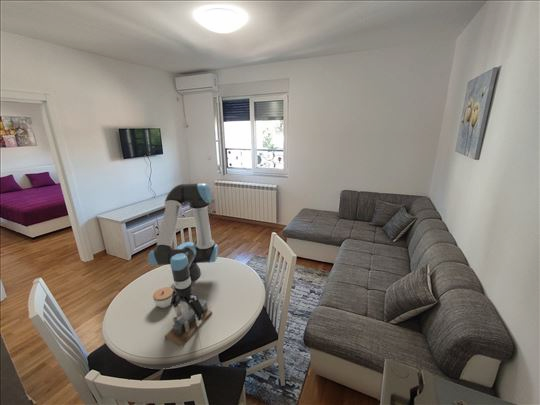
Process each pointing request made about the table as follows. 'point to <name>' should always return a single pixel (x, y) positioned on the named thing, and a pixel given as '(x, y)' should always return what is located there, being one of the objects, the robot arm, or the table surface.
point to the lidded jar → (163, 297)
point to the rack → (186, 329)
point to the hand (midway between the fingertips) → (189, 320)
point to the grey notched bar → (187, 319)
